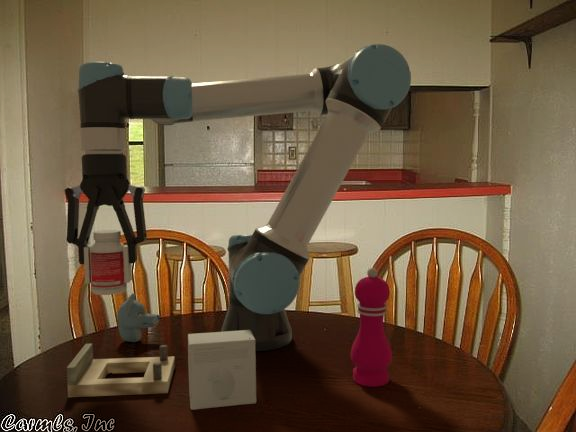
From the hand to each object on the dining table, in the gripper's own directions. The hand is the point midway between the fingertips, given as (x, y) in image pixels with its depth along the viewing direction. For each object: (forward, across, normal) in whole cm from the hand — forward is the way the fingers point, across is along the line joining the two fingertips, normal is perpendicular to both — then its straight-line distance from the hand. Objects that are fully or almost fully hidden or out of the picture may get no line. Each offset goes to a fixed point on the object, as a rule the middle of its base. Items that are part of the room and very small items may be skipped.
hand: (109, 281), depth 101 cm
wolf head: (+17, -1, -17) cm, 24 cm away
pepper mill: (+17, -47, +7) cm, 50 cm away
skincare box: (+17, -21, +13) cm, 30 cm away
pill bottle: (+2, 0, 0) cm, 2 cm away
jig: (+17, -3, +5) cm, 18 cm away
